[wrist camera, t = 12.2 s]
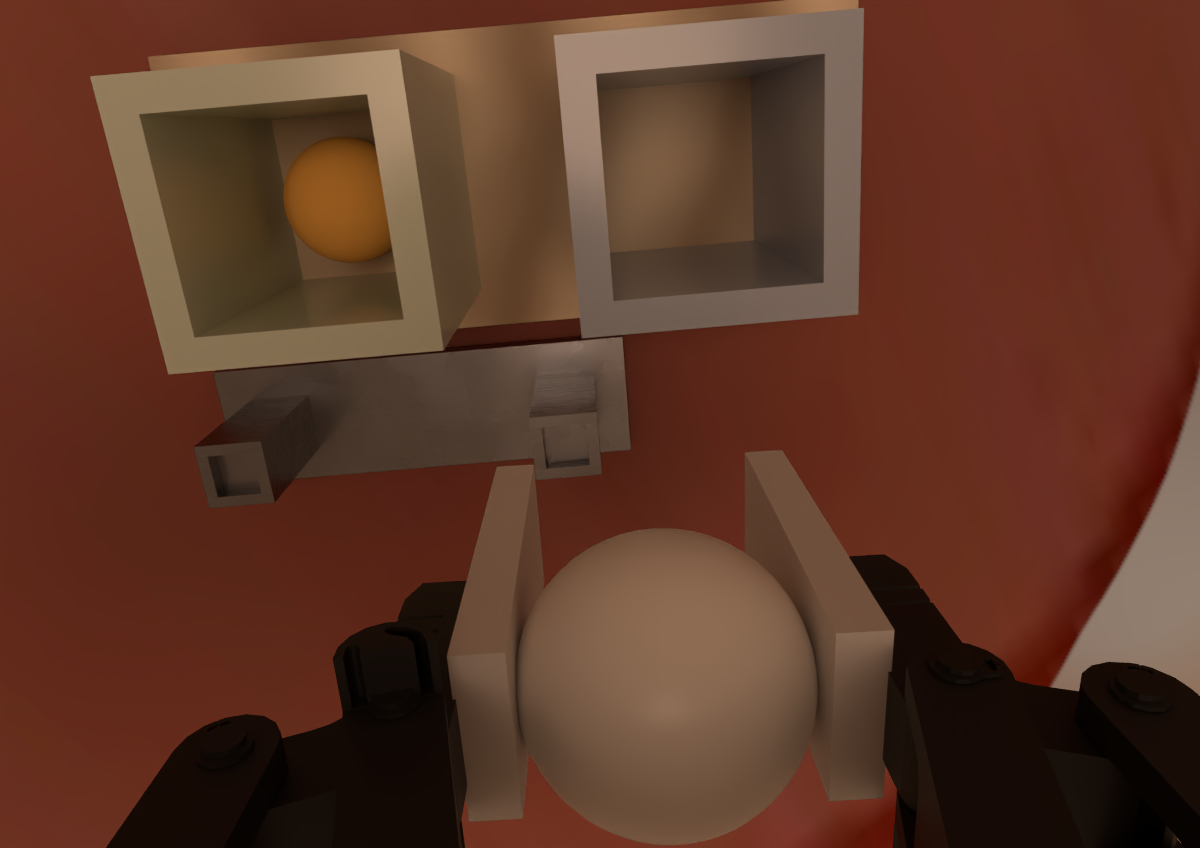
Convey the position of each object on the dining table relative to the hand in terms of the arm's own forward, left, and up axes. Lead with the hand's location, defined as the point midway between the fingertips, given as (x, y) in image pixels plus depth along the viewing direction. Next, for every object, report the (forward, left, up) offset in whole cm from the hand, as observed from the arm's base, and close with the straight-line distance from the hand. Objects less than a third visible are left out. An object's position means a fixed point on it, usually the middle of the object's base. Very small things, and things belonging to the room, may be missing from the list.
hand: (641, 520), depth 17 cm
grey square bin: (+3, +6, -19) cm, 20 cm away
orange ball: (-9, +6, -16) cm, 19 cm away
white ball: (0, 0, +5) cm, 5 cm away
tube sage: (-9, +6, -19) cm, 22 cm away
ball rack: (-8, -3, -19) cm, 21 cm away
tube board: (-3, +6, -19) cm, 20 cm away
